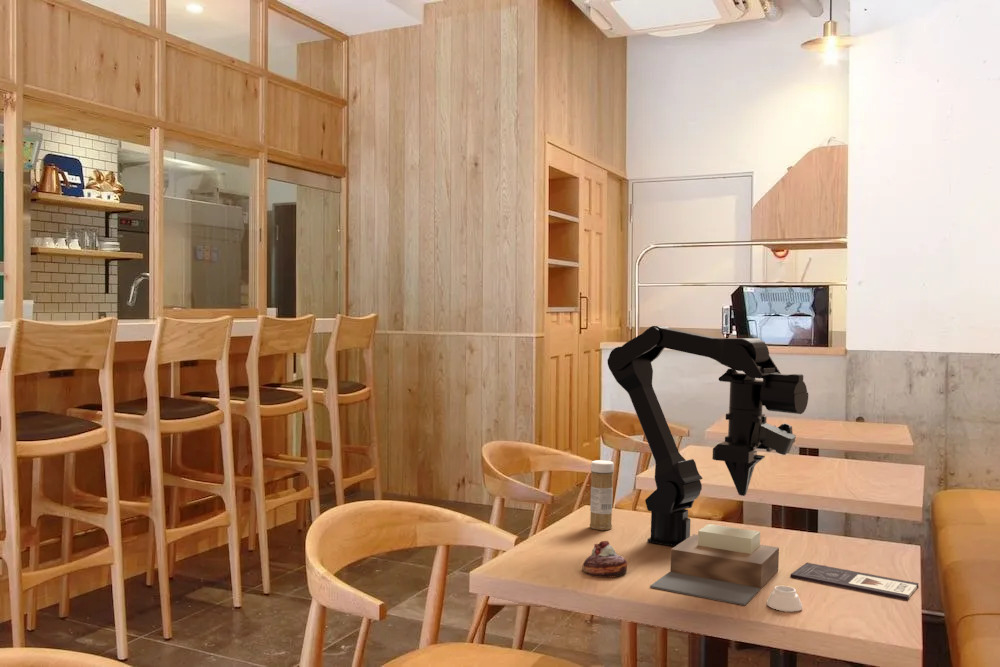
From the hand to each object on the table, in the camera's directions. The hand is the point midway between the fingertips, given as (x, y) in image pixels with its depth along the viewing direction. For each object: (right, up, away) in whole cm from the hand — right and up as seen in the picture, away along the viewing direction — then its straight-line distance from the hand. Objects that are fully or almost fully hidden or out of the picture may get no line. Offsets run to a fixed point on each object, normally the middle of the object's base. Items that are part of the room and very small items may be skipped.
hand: (742, 495), depth 158 cm
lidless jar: (-1, -13, -26) cm, 28 cm away
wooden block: (-5, -11, -8) cm, 15 cm away
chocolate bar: (+15, -13, -12) cm, 23 cm away
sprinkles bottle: (-23, -10, +19) cm, 32 cm away
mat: (-11, -12, -18) cm, 24 cm away
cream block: (-4, -7, -7) cm, 11 cm away
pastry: (-26, -11, -10) cm, 30 cm away
